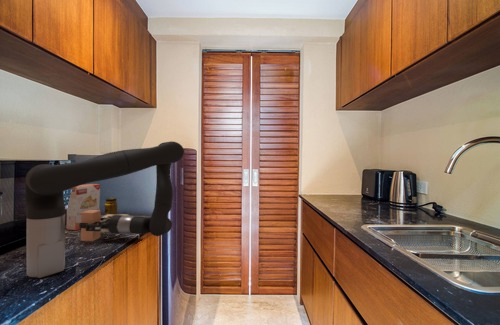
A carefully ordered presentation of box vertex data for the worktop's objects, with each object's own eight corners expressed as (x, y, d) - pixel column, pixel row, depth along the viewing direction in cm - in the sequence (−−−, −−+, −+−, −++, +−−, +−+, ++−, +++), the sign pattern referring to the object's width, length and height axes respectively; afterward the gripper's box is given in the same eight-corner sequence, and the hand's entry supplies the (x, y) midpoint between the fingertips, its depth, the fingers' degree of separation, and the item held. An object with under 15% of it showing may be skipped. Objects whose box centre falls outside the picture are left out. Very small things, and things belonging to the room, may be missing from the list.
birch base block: (129, 225, 126) (129, 214, 125) (119, 232, 115) (119, 220, 114) (107, 225, 125) (107, 214, 124) (95, 232, 114) (95, 220, 114)
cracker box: (76, 231, 114) (76, 186, 114) (65, 230, 116) (66, 186, 115) (100, 223, 128) (100, 183, 128) (90, 222, 129) (90, 183, 129)
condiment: (101, 220, 133) (101, 198, 133) (115, 217, 141) (115, 196, 141) (109, 222, 130) (109, 200, 130) (123, 219, 138) (124, 198, 137)
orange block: (100, 237, 107) (100, 210, 107) (92, 241, 102) (92, 212, 102) (89, 236, 107) (89, 209, 107) (81, 240, 102) (81, 212, 102)
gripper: (133, 211, 110) (99, 210, 112) (113, 219, 96) (74, 218, 97) (132, 228, 111) (98, 226, 112) (112, 238, 96) (74, 236, 98)
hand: (87, 222), depth 105 cm, fingers open, 8 cm apart
